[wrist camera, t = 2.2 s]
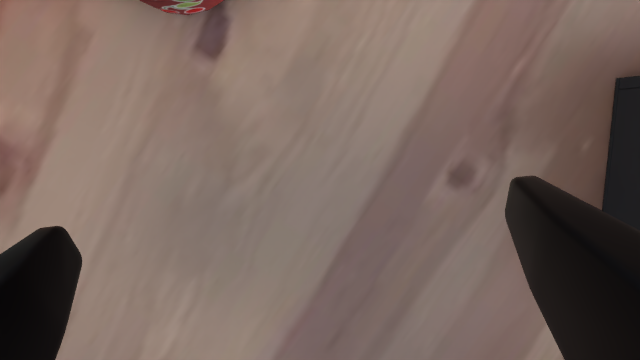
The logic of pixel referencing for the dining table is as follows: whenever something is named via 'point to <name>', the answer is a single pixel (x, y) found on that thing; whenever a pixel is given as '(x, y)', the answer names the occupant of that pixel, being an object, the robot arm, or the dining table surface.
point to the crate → (624, 154)
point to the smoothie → (182, 5)
